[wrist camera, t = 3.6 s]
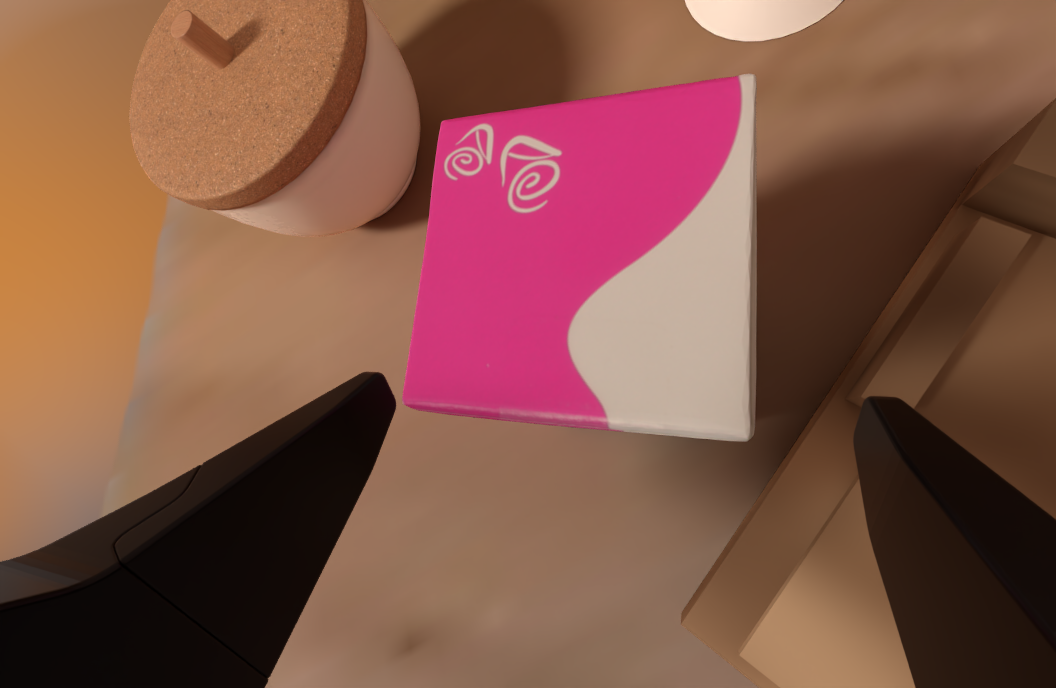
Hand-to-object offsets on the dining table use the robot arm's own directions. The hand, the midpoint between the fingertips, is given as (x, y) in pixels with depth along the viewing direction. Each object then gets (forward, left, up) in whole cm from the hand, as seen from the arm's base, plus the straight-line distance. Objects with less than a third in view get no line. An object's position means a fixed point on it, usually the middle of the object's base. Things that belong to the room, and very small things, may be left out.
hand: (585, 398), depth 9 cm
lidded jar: (+3, +18, -10) cm, 21 cm away
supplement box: (+2, +1, -10) cm, 10 cm away
